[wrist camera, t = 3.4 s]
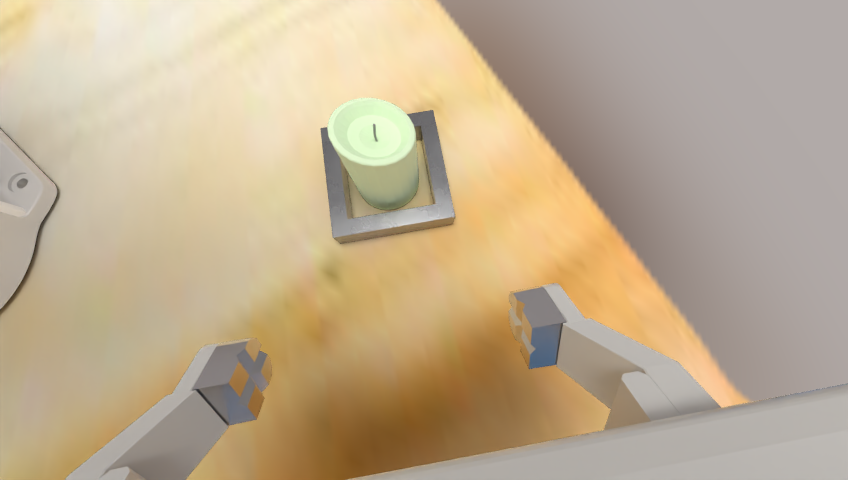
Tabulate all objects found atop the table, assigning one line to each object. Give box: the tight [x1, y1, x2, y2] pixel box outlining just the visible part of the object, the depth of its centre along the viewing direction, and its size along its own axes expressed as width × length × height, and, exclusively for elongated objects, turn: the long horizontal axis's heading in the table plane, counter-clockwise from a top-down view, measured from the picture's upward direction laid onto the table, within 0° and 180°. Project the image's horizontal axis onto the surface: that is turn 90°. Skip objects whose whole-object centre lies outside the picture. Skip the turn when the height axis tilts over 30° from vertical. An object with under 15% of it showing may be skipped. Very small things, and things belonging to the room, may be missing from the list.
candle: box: [327, 98, 419, 210], centre depth 22 cm, size 5×5×8 cm
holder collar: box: [321, 110, 455, 244], centre depth 25 cm, size 9×9×2 cm
